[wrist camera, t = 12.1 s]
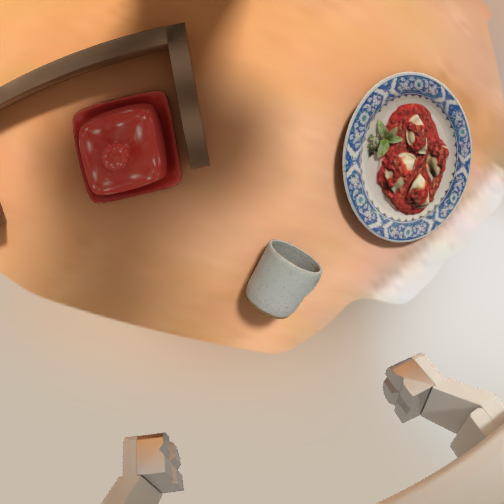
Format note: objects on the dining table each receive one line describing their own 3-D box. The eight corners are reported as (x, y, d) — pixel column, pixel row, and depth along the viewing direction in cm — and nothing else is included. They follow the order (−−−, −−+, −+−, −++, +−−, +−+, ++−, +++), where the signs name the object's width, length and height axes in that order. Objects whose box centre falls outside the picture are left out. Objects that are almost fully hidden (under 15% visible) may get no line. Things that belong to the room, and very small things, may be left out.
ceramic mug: (236, 284, 44) (249, 318, 38) (262, 232, 42) (281, 259, 35) (299, 301, 48) (319, 333, 42) (326, 255, 46) (351, 283, 39)
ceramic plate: (480, 150, 44) (492, 154, 41) (405, 263, 50) (415, 271, 48) (399, 37, 33) (412, 35, 31) (297, 174, 39) (306, 179, 37)
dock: (-33, 114, 25) (-48, 116, 22) (183, 30, 29) (184, 22, 26) (-4, 224, 32) (-16, 234, 29) (207, 160, 36) (209, 165, 33)
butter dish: (168, 87, 32) (164, 81, 24) (183, 182, 37) (185, 203, 29) (73, 112, 30) (45, 115, 22) (93, 203, 35) (73, 229, 28)
